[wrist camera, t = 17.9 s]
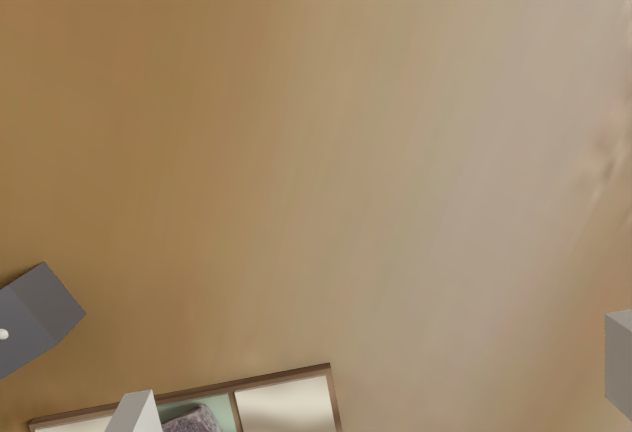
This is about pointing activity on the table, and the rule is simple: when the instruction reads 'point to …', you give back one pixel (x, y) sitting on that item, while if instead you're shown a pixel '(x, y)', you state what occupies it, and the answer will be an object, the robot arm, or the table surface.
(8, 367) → the die
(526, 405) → the table surface
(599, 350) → the table surface
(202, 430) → the rock
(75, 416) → the board
